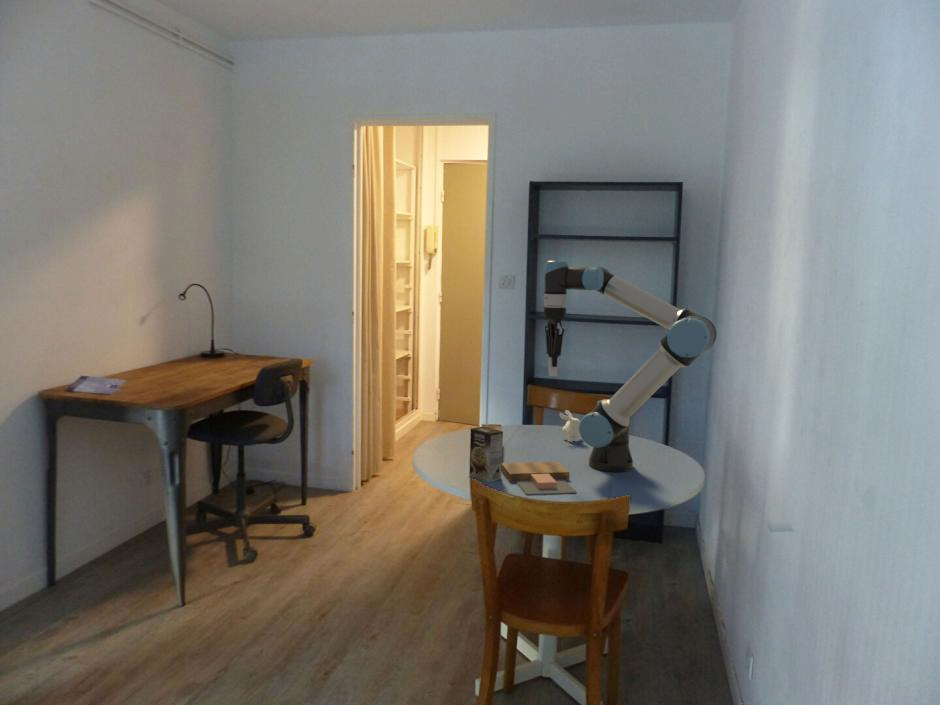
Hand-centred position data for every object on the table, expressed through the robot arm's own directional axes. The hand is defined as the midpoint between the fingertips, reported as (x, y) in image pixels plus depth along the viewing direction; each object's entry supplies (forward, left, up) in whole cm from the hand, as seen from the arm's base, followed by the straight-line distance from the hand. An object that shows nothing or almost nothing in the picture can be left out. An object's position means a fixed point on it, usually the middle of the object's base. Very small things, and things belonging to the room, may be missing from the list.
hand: (552, 375), depth 238 cm
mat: (+8, +22, -32) cm, 40 cm away
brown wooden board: (+8, +9, -32) cm, 34 cm away
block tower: (+17, -20, -33) cm, 42 cm away
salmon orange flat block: (+8, +20, -32) cm, 38 cm away
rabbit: (-20, -36, -32) cm, 52 cm away
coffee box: (+25, +10, -32) cm, 42 cm away
